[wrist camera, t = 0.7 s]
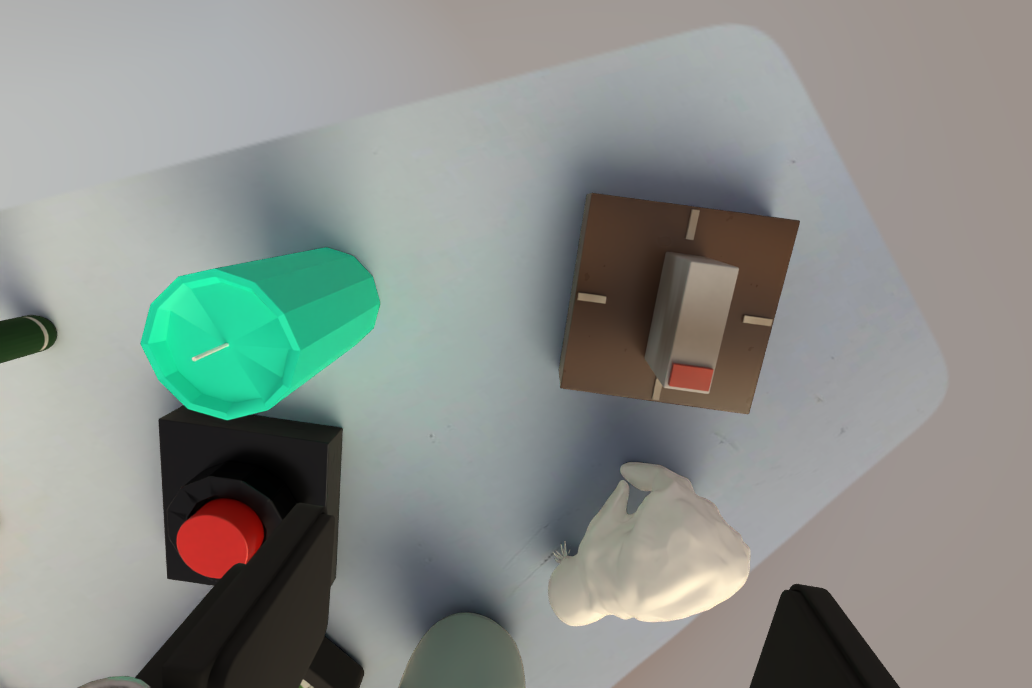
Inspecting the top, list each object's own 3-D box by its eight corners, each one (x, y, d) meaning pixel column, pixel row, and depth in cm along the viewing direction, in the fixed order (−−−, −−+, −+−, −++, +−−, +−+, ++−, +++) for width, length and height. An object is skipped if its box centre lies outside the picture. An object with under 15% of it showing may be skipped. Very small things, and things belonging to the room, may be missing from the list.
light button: (195, 492, 30) (174, 510, 28) (264, 502, 30) (247, 521, 28) (197, 553, 31) (177, 573, 29) (264, 562, 31) (248, 583, 29)
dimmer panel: (586, 193, 28) (591, 192, 25) (773, 219, 28) (802, 220, 25) (558, 371, 30) (560, 389, 27) (729, 394, 30) (750, 415, 27)
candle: (280, 346, 31) (123, 431, 19) (274, 244, 29) (98, 269, 18) (381, 353, 31) (282, 442, 19) (379, 250, 29) (271, 279, 18)
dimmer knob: (665, 251, 25) (692, 261, 21) (706, 256, 25) (742, 268, 21) (643, 358, 27) (664, 390, 22) (682, 364, 27) (711, 396, 22)
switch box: (183, 404, 32) (134, 432, 28) (343, 427, 32) (315, 457, 28) (189, 556, 35) (145, 600, 31) (336, 577, 35) (310, 624, 31)
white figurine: (788, 603, 24) (597, 723, 27) (735, 491, 32) (593, 596, 35) (691, 516, 23) (508, 652, 26) (662, 424, 31) (524, 539, 34)
